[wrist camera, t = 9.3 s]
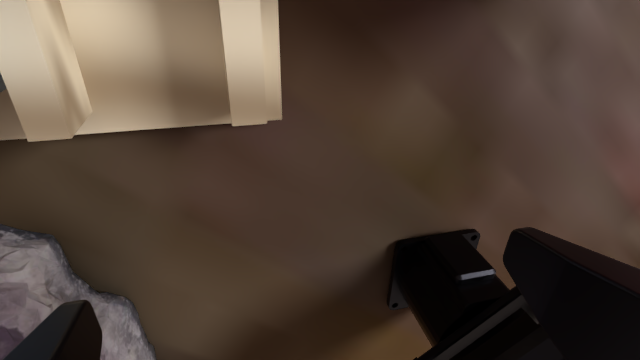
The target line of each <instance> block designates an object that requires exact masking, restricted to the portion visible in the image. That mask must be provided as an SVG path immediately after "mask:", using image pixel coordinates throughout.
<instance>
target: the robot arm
mask: <svg viewBox="0 0 640 360" xmlns="http://www.w3.org/2000/svg"><path fill="white" fill-rule="evenodd" d="M479 238H480V234H479V233H478V232H477V231H476V230H475V229H469V230H463V231H457V232H450V233H444V234H438V235H431V236H425V237H419V238H412V239H406V240H401V241H399V242H398V243H397V244H396V246H395V251H394V258H393V265H392V272H391V278H390V285H389V292H388V299H387V305H388V307H389V309H390V310H396V309H401V308H406V307H409V308H410V309H411V311H412V313H413V315H414V316H415V318H416V320H417V321H418V323H419V325H420V326H421V328H422V330H423V332H424V333H425V335H426V337H427V338H428V340H429V342H430V344H431V345H432V348H431V349H430V350H428V351H427V352H425V353H424V354H423V355H421V356H420V357H419V358H417V357H416V358H415V359H413V360H640V269H638V268H636V267H633V266H630V265H628V264H625V263H623V262H620V261H617V260H615V259H612V258H610V257H607V256H605V255H602V254H599V253H597V252H594V251H592V250H589V249H586V248H584V247H581V246H579V245H576V244H574V243H571V242H568V241H566V240H563V239H561V238H558V237H555V236H553V235H550V234H548V233H545V232H543V231H540V230H537V229H535V228H532V227H525V228H519V229H515V230H513V231H512V232H511V234H510V236H509V239H508V242H507V245H506V248H505V251H504V254H503V262H504V265H505V267H506V269H507V271H508V272H509V274H510V276H511V277H512V279H513V281H514V282H515V284H516V286H515V287H514V288H512V289H511V290H509V289H508V288H507V286H506V285H505V284H504V283H503V282H502V281H501V280H500V279H499V278H498V277H497V276H496V275H495V274H496V271H495V269H494V268H493V267H492V266H491V265H490V264H489V263H488V262H487V261H486V260H485V258H484V257H483V256H482V255H481V254H480V253H479V252H478V251H477V250H476V249H477V245H478V242H479ZM404 246H405V247H404ZM402 247H404V248H402ZM401 248H402V249H401ZM101 349H102V330H101V327H100V324H99V322H98V319H97V317H96V314H95V312H94V309H93V307H92V305H91V303H90V302H89V301H88V300H78V301H72V302H66V303H63V304H61V305H60V306H58V307H57V308H56V309H55V310H54V311H53V312H52V313H51V314H50V315H49V316H48V317H47V318H46V319H44V320H43V321H42V322H41V323H40V324H39V325H38V326H37V327H36V328H35V329H34V330H33V331H32V332H31V333H30V334H29V335H28V336H27V337H25V338H24V339H23V340H22V341H21V342H20V343H19V344H18V345H17V346H16V347H15V348H14V349H13V350H12V351H11V352H10V353H9V354H8V355H6V356H5V357H4V358H3V359H2V360H100V356H101Z"/></svg>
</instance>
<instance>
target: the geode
mask: <svg viewBox="0 0 640 360" xmlns="http://www.w3.org/2000/svg"><path fill="white" fill-rule="evenodd" d="M78 300H88V301H89V302H90V303H91V305H92V307H93V309H94V312H95V314H96V317H97V319H98V322H99V324H100V327H101V330H102V349H101V356H100V360H156V354H155V350H154V346H153V345H152V344H150V343H149V342H148V339H147V336H146V334H145V332H144V330H143V328H142V326H141V324H140V320H139V315H138V312H137V310H136V308H135V306H134V304H133V302H131V301H130V300H129V299H127V298H126V297H123V296H119V295H116V294H112V293H108V292H104V293H98V292H97V291H95V290H94V289H93V288H92V287H90V286H89V285H88V284H87V283H86V282H85V281H84V280H82V279H81V278H80V277H79V276H78V275H77V274H75V273H74V272H73V271H72V269H71V267H70V265H69V262H68V260H67V258H66V256H65V254H64V252H63V249H62V247H61V245H60V244H59V243H58V241H57V240H56V239H55V237H54V236H53V235H50V234H43V233H37V232H30V231H25V230H20V229H16V228H13V227H9V226H6V225H2V224H0V360H2V359H3V358H4V357H5V356H6V355H8V354H9V353H10V352H11V351H12V350H13V349H14V348H15V347H16V346H17V345H18V344H19V343H20V342H21V341H22V340H23V339H24V338H25V337H27V336H28V335H29V334H30V333H31V332H32V331H33V330H34V329H35V328H36V327H37V326H38V325H39V324H40V323H41V322H42V321H43V320H44V319H46V318H47V317H48V316H49V315H50V314H51V313H52V312H53V311H54V310H55V309H56V308H57V307H58V306H60V305H61V304H63V303H66V302H72V301H78Z"/></svg>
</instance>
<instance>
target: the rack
mask: <svg viewBox="0 0 640 360" xmlns="http://www.w3.org/2000/svg"><path fill="white" fill-rule="evenodd" d="M0 73H1V75H2V78H3V80H4V83H5V85H6V88H7V89H5V90H4V91H2V92H0V140H12V139H26V138H27V140H28V142H32V141H46V140H59V139H72V137H73V136H74V135H79V134H93V133H106V132H120V131H133V130H147V129H160V128H174V127H187V126H201V125H214V124H228V123H232V126H243V125H256V124H267V121H268V120H282V102H281V73H280V45H279V16H278V0H0Z"/></svg>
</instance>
